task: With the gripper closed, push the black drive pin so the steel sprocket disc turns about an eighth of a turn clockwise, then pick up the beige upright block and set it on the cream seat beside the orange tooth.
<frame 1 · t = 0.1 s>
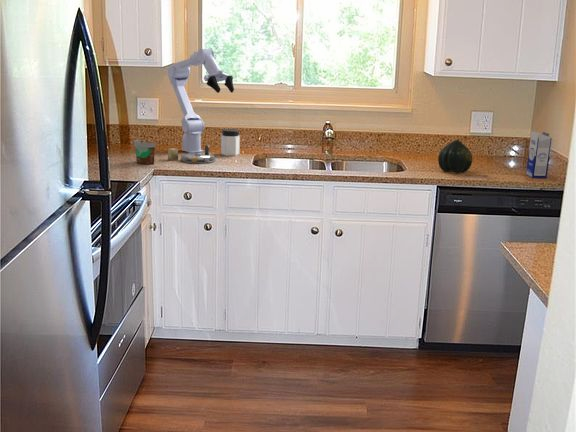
hand: (226, 91, 298), 32 cm above the worktop, tool tilted 50°, fingers open, 7 cm apart
food container: (142, 163, 294), on the worktop
base plate: (198, 160, 305), on the worktop
beige upright block: (173, 159, 304), on the worktop
jar: (230, 154, 322), on the worktop
milk carton: (536, 176, 294), on the worktop
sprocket: (197, 152, 304), point 4 cm above the worktop, hinge at 0.0°
squash: (453, 172, 298), on the worktop
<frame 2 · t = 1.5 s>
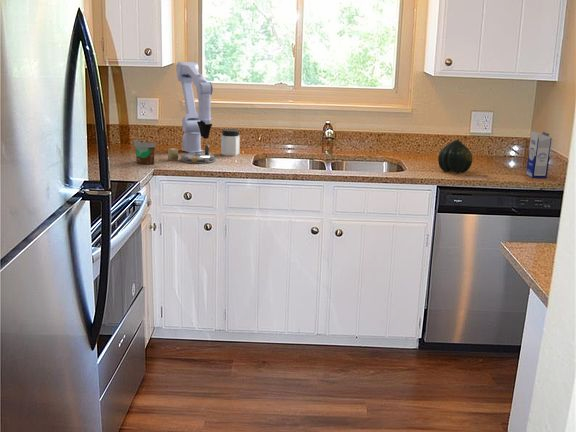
hand: (204, 137, 311), 9 cm above the worktop, tool pointing down, fingers open, 5 cm apart
nothing on the worktop moved.
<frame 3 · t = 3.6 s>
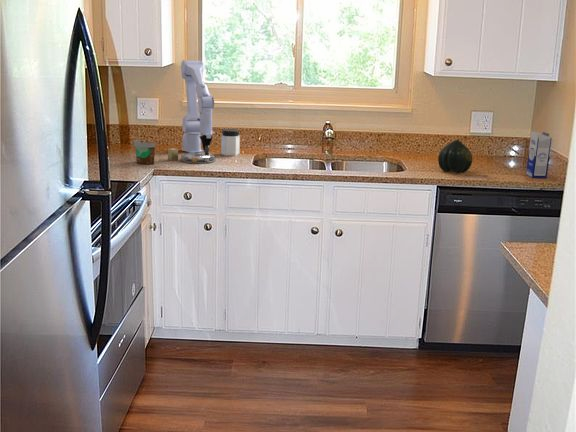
hand: (206, 151, 309), 3 cm above the worktop, tool pointing down, fingers closed, pressing on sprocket
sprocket: (197, 152, 304), point 4 cm above the worktop, hinge at 0.0°, touching gripper
everything else where it was.
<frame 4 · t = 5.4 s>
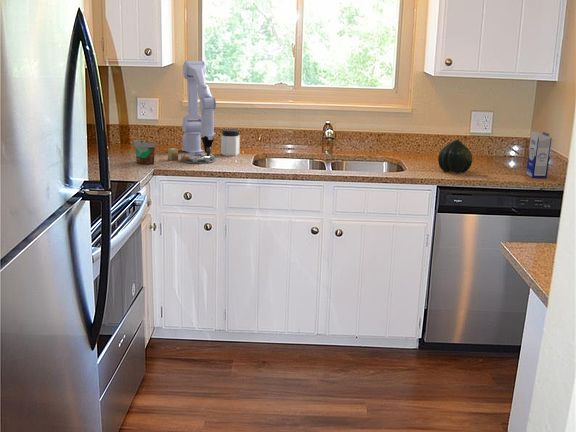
hand: (207, 152, 306), 3 cm above the worktop, tool pointing down, fingers closed
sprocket: (197, 152, 304), point 4 cm above the worktop, hinge at -42.3°, touching gripper
everything else where it was.
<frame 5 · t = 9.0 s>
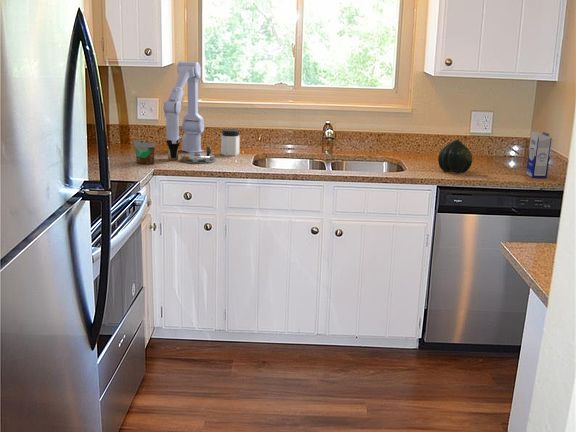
hand: (173, 156, 304), 1 cm above the worktop, tool pointing down, fingers closed on beige upright block, 4 cm apart
beige upright block: (173, 159, 304), on the worktop, touching gripper
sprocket: (197, 152, 304), point 4 cm above the worktop, hinge at -42.3°
everything else where it was.
when the fingers open (8 cm above the worktop, at t = 10.3 s): beige upright block drops 4 cm, resting on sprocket.
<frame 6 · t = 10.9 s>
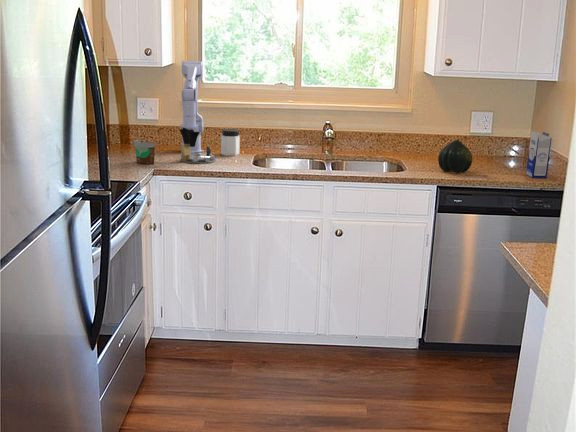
hand: (189, 145, 299), 7 cm above the worktop, tool pointing down, fingers open, 5 cm apart
beige upright block: (186, 155, 301), point 3 cm above the worktop, tilted 14°, touching gripper, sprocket
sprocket: (197, 152, 304), point 4 cm above the worktop, hinge at -42.3°, touching beige upright block
everything else where it was.
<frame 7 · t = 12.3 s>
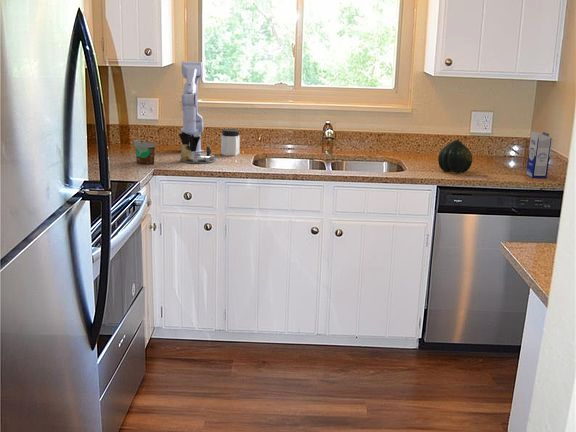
hand: (189, 150, 300), 5 cm above the worktop, tool pointing down, fingers open, 7 cm apart
beige upright block: (186, 156, 300), point 3 cm above the worktop, touching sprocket
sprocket: (197, 152, 304), point 4 cm above the worktop, hinge at -41.4°, touching beige upright block
everything else where it was.
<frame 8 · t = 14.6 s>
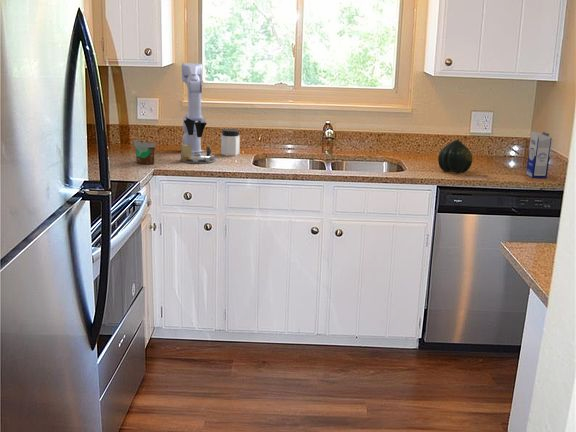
hand: (195, 136, 311), 10 cm above the worktop, tool pointing down, fingers open, 7 cm apart
nothing on the worktop moved.
at the end: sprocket at -41° (first picture: +0°); beige upright block 1.3 cm from the target spot on the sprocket, point 2.6 cm above the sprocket's base; beige upright block tilted 0° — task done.
